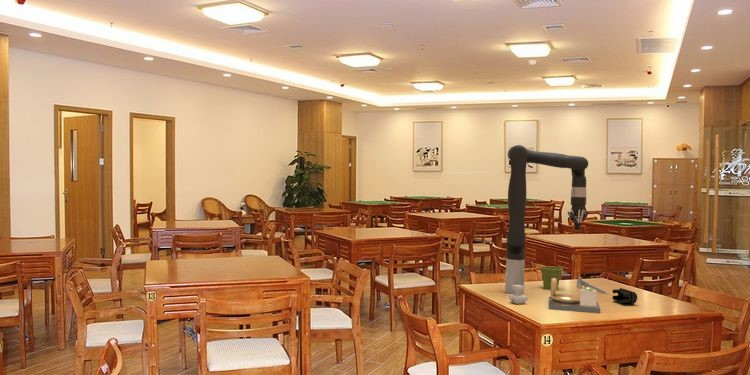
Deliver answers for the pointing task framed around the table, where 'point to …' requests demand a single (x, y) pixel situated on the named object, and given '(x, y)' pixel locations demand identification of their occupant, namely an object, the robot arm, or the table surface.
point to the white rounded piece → (518, 295)
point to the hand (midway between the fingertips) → (577, 230)
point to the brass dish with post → (562, 297)
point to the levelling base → (572, 306)
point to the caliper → (588, 285)
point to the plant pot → (550, 275)
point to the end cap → (624, 297)
